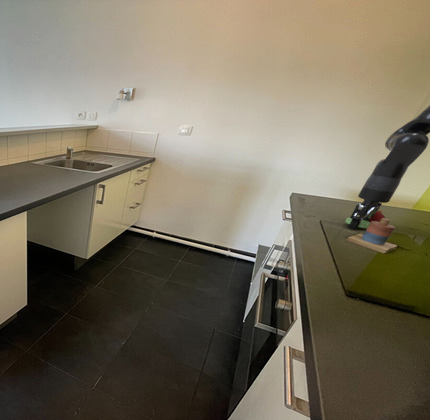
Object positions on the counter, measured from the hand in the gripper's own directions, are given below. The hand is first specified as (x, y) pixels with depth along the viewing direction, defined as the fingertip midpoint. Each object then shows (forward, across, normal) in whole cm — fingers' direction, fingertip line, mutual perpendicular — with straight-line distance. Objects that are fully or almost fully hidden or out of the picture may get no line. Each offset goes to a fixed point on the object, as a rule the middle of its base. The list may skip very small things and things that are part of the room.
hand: (355, 227), depth 97 cm
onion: (+1, +9, -1) cm, 9 cm away
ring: (-1, 0, 0) cm, 1 cm away
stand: (+1, -13, -8) cm, 15 cm away
